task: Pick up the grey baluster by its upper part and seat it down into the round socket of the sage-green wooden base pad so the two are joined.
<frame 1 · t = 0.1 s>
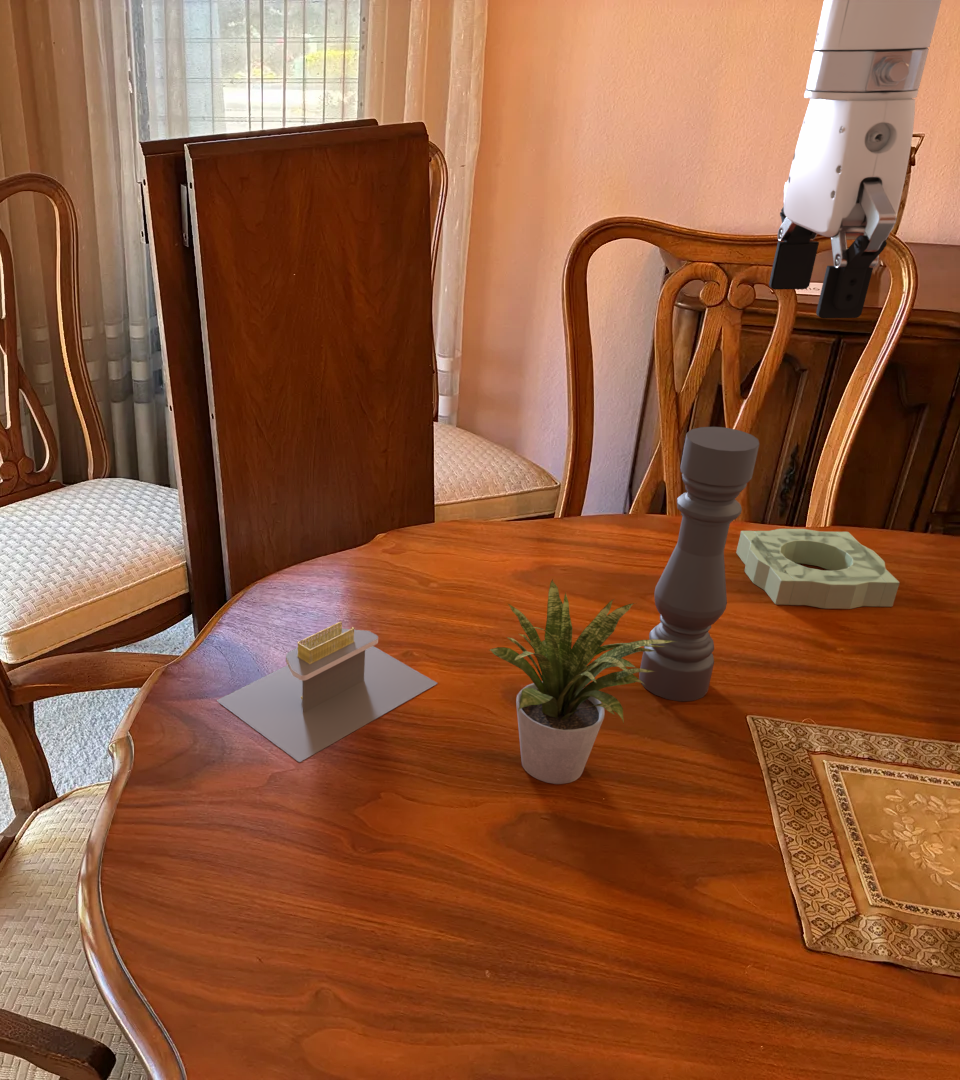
hand: (811, 302, 83), 35 cm above the table, tool pointing down, fingers open, 9 cm apart
base pad: (810, 578, 112), on the table
grey baluster: (672, 683, 96), on the table
platform: (327, 693, 96), on the table
house plant: (551, 775, 85), on the table
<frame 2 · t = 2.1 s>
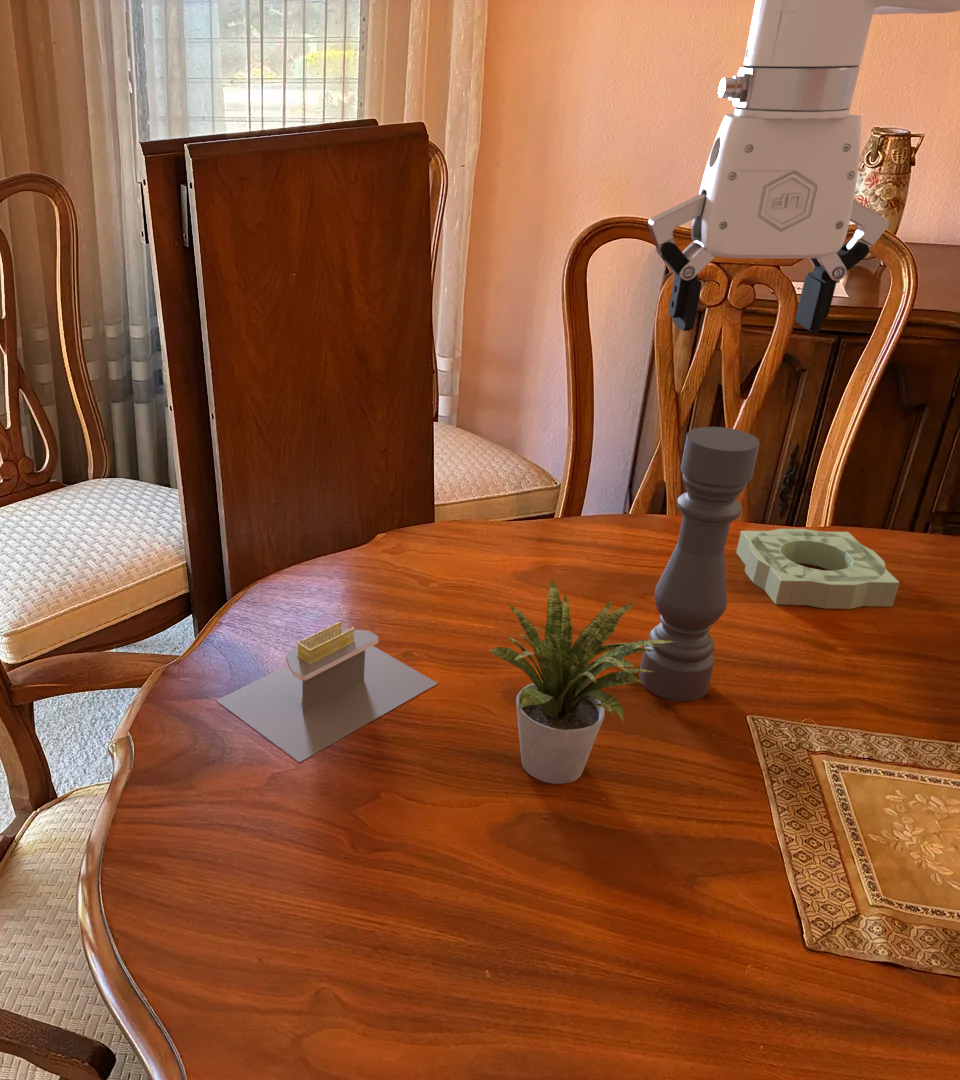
hand: (744, 326, 80), 35 cm above the table, tool pointing down, fingers open, 9 cm apart
nothing on the table moved.
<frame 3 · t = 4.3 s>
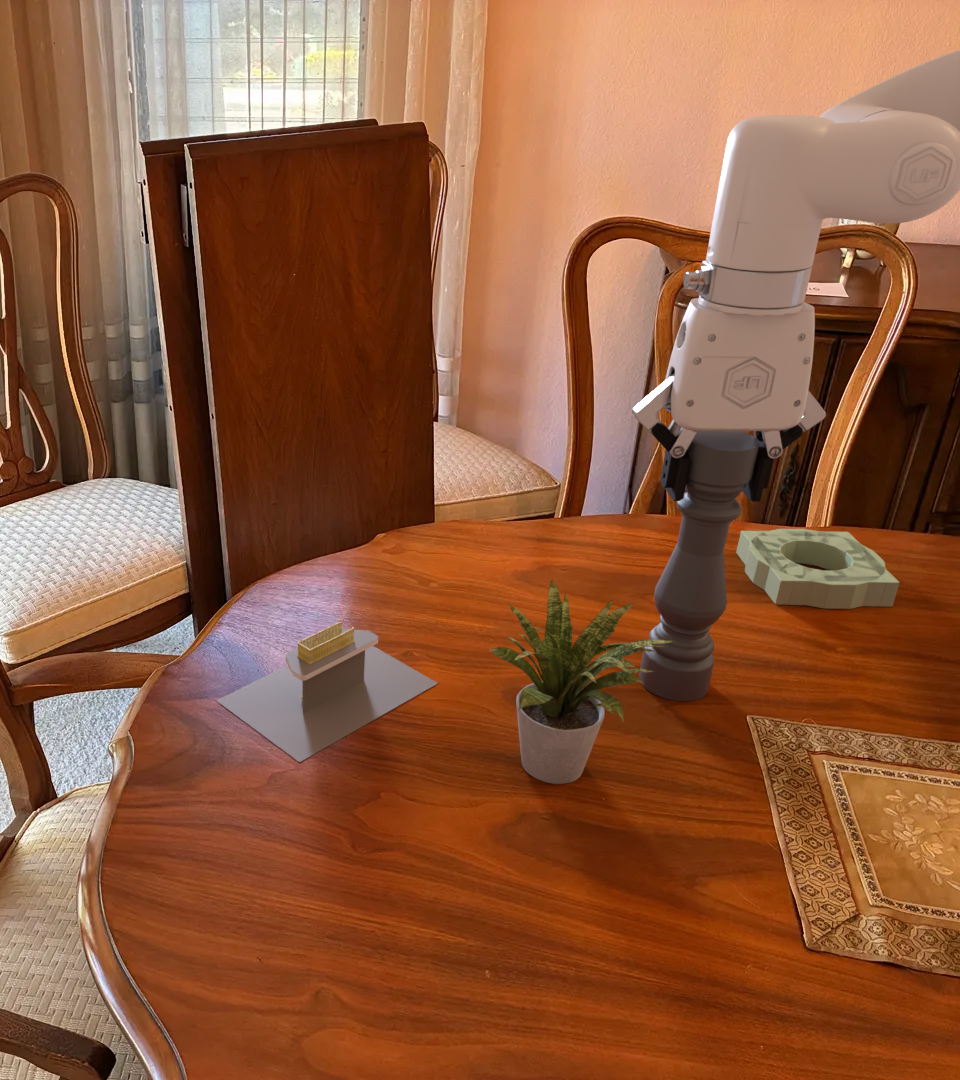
hand: (711, 493, 87), 20 cm above the table, tool pointing down, fingers closed on grey baluster, 5 cm apart
grey baluster: (672, 683, 96), on the table, touching gripper
everything else where it was.
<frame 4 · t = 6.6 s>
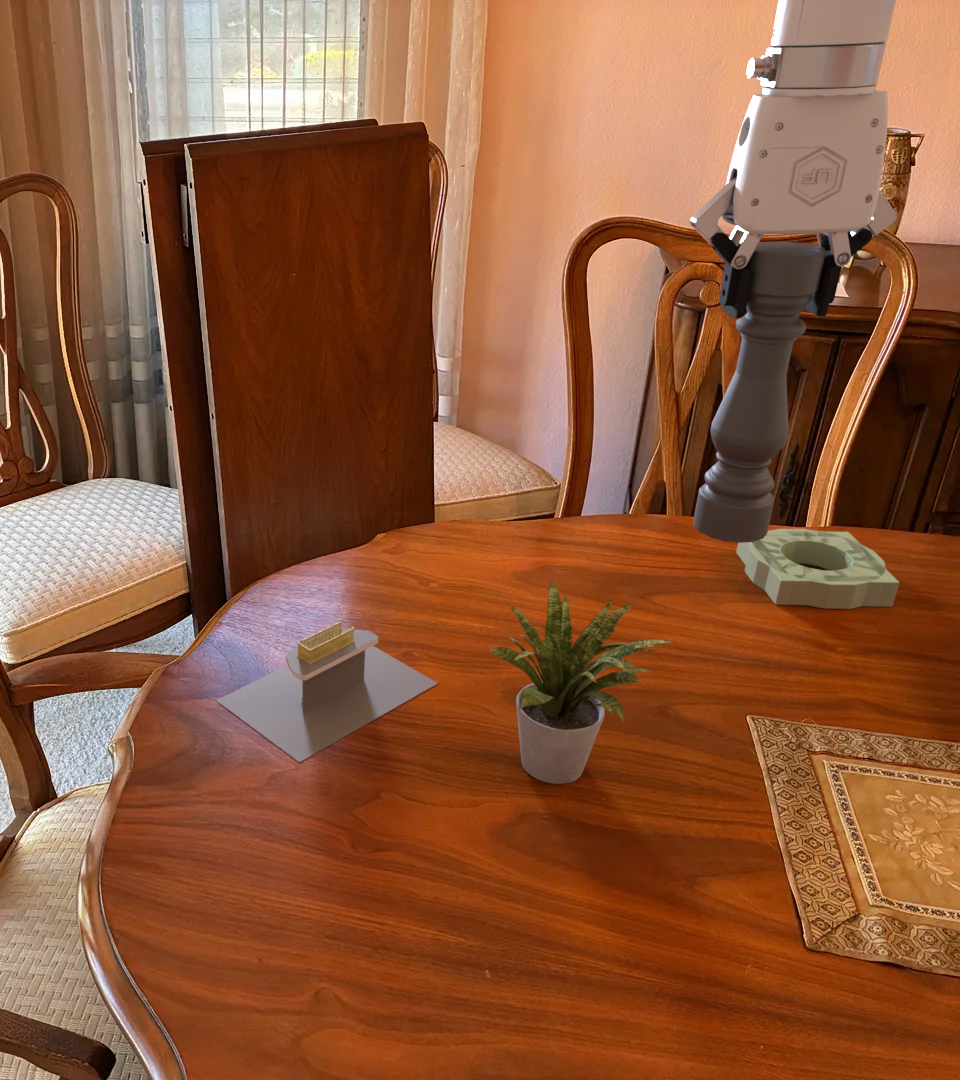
hand: (773, 311, 82), 35 cm above the table, tool pointing down, fingers closed on grey baluster, 5 cm apart
grey baluster: (729, 529, 91), point 15 cm above the table, touching gripper
everything else where it was.
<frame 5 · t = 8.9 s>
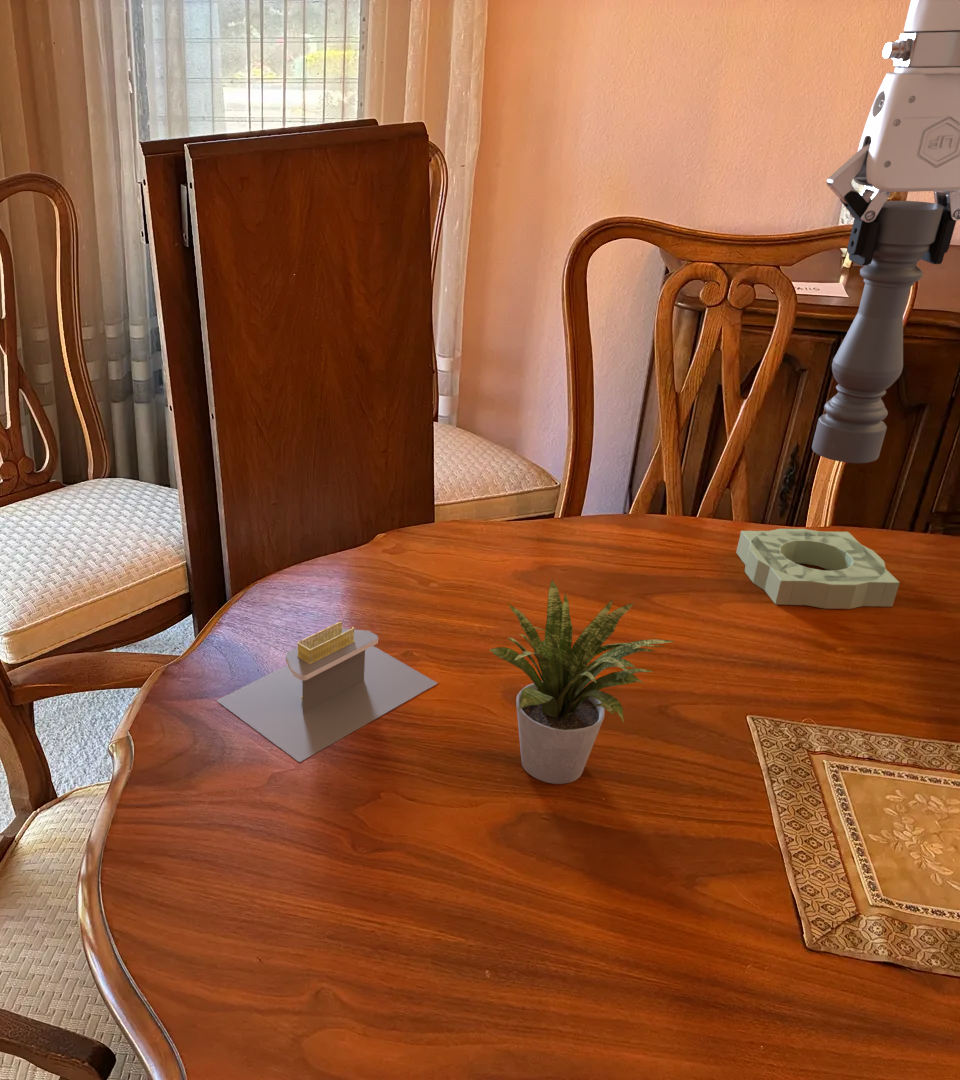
hand: (894, 260, 96), 35 cm above the table, tool pointing down, fingers closed on grey baluster, 5 cm apart
grey baluster: (844, 453, 105), point 15 cm above the table, touching gripper
everything else where it was.
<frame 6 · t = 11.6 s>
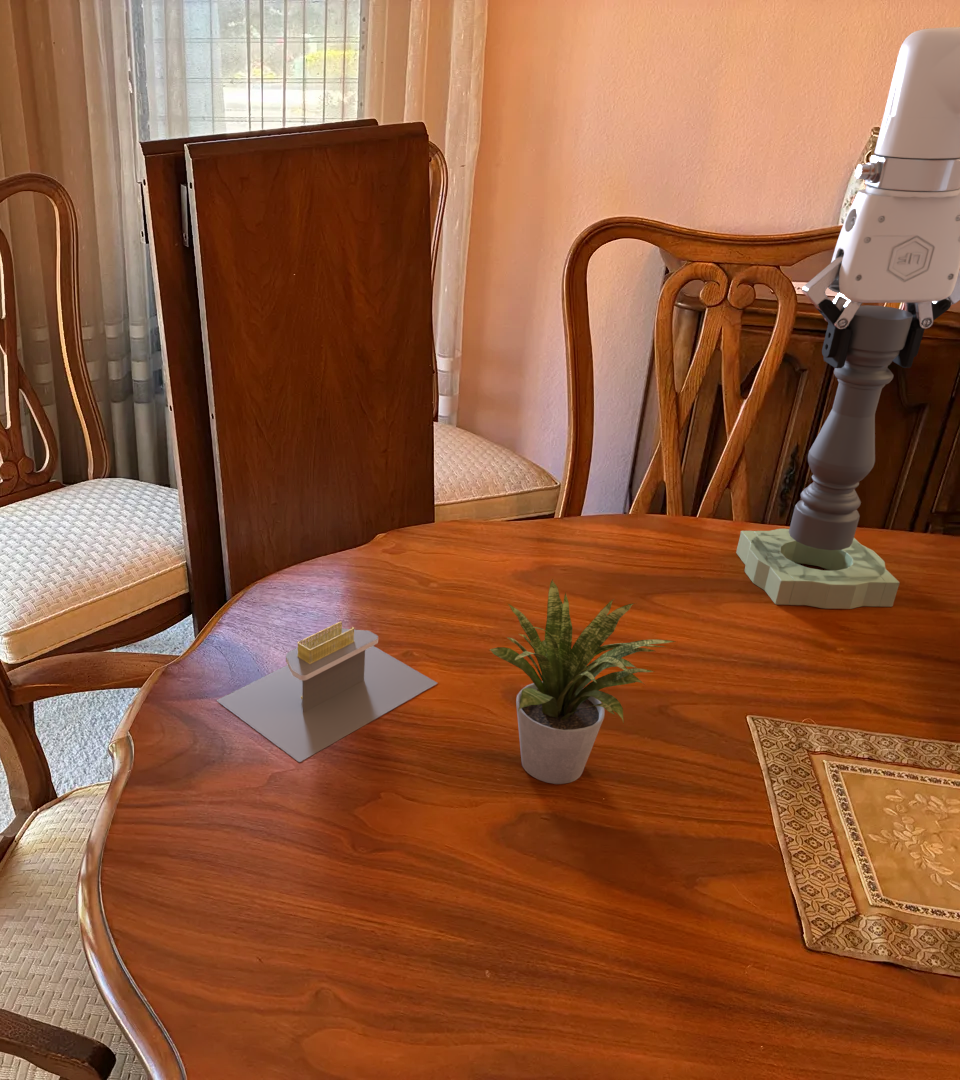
hand: (866, 362, 101), 25 cm above the table, tool pointing down, fingers closed on grey baluster, 5 cm apart
grey baluster: (819, 538, 110), point 5 cm above the table, touching gripper
everything else where it was.
when the fingers open (20 cm above the table, at t = 13.7 s): grey baluster stays where it is, resting in base pad.
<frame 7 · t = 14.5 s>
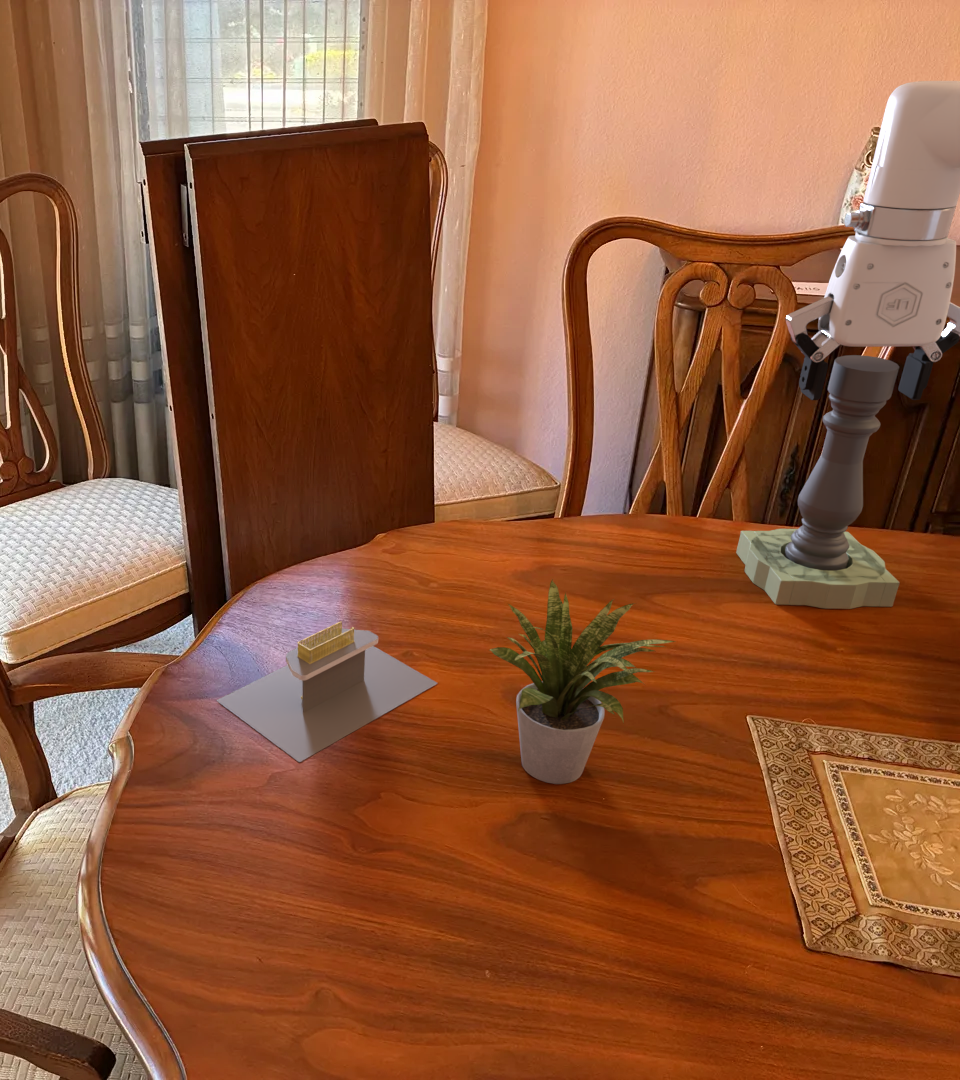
hand: (859, 395, 103), 22 cm above the table, tool pointing down, fingers open, 9 cm apart
grey baluster: (809, 579, 112), resting in base pad
everything else where it was.
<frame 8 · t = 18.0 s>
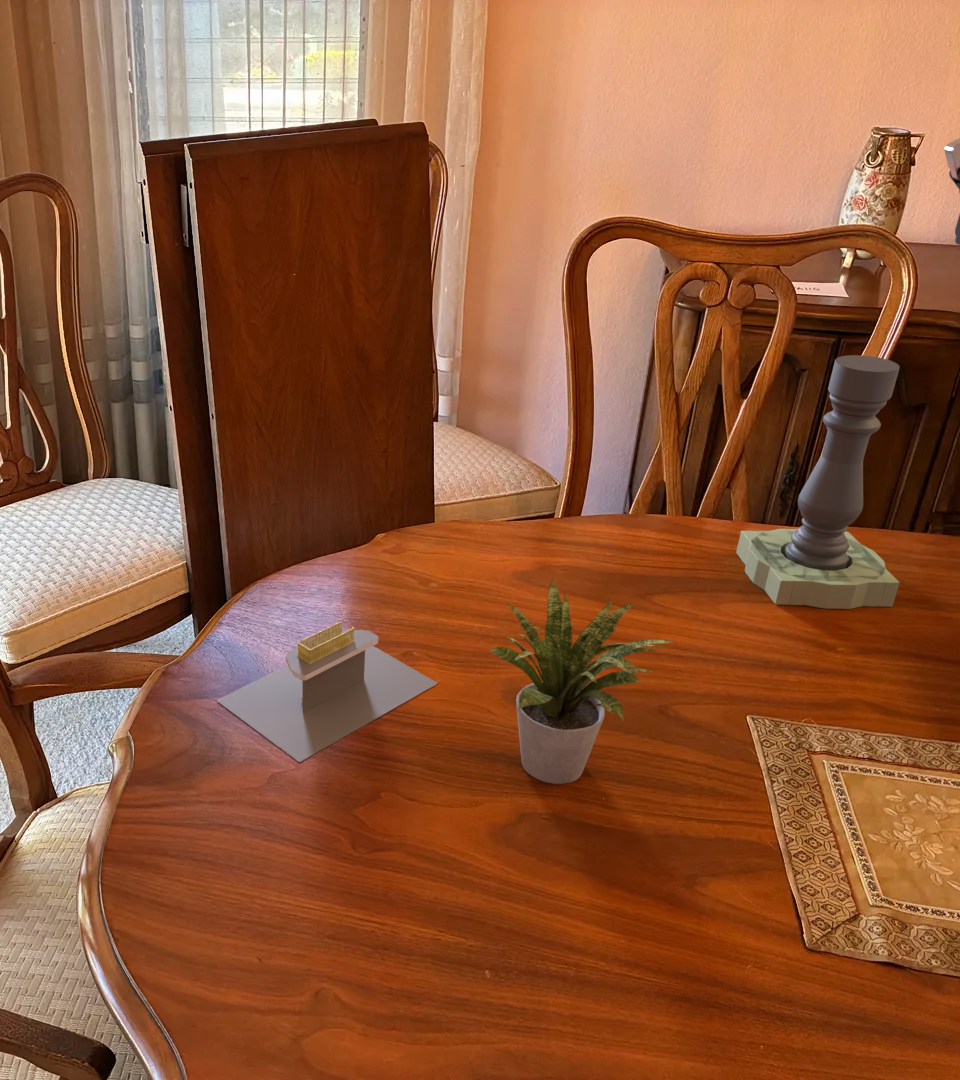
nothing on the table moved.
at the end: grey baluster 0.0 cm off-centre in the base pad, point 0.0 cm above the base pad's base; grey baluster tilted 0°; the gripper is holding nothing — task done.
